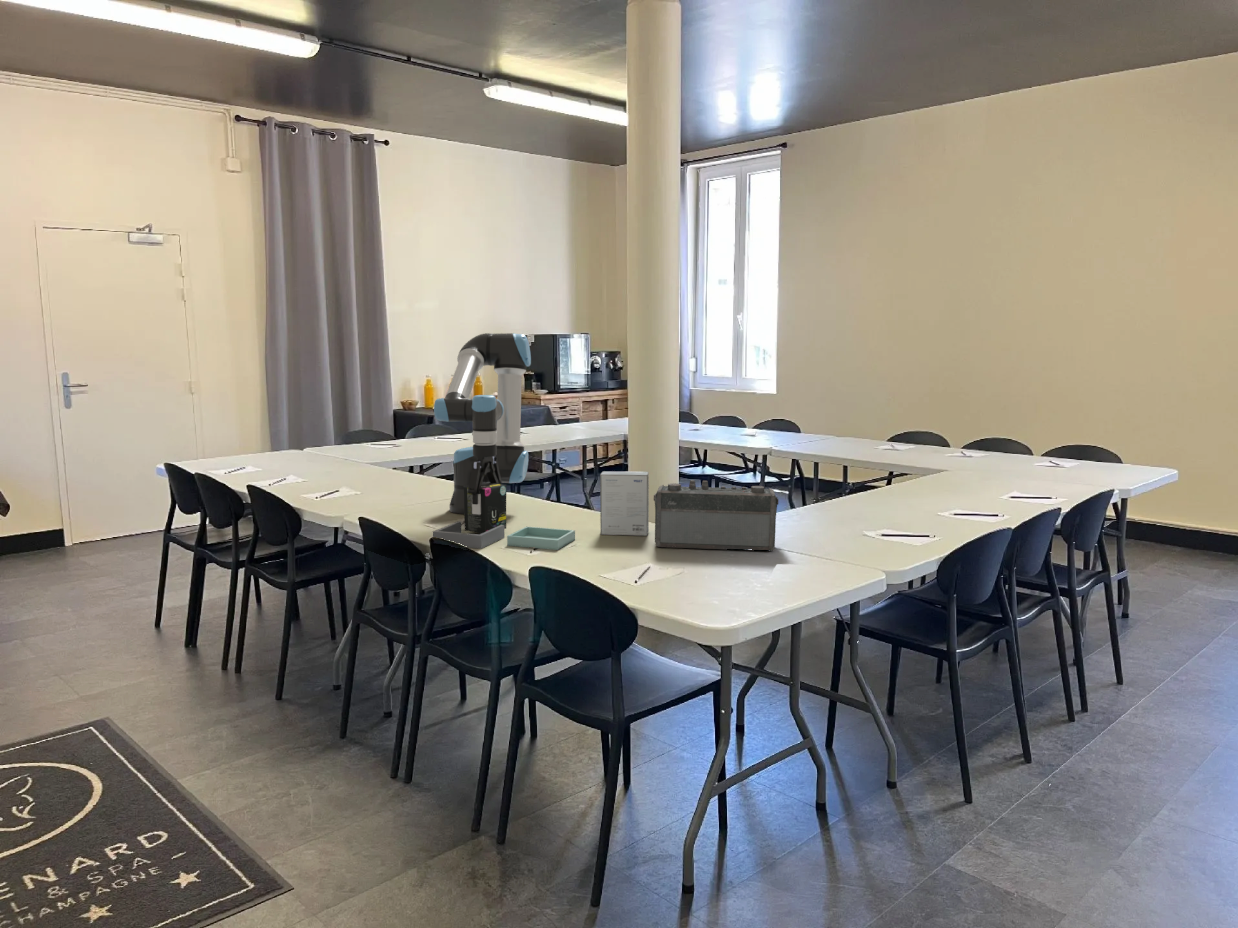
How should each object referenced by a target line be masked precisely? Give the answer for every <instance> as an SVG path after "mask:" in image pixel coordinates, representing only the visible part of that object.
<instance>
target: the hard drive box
mask: <svg viewBox="0 0 1238 928" xmlns="http://www.w3.org/2000/svg"><path fill="white" fill-rule="evenodd" d="M649 474H650V473H649V471H628V470H627V471H615V470H614V471H613V470H612V471H605V470H604V471H602V472H601V473H600V475H599V481H600V482H599V484H600V486H599V490H600V492H599V494H600V495H599V496H600V500H599V502H600V505H599V506H600V507H599V508H600V511H599V513H600V515H599V516H600V519H599V520H600V533H599V534H600V536H601V535H603V536H604V535H605V536H606V535H608V536H645V537H646V536H648V535H649V530H650V529H649V525H650V524H649V521H650V520H649V515H650V514H649V511H650V510H649V505H650V502H649V493H650V491H649V489H650V488H649V487H650V484H649V483H650V482H649Z"/></svg>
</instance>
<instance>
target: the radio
mask: <svg viewBox="0 0 1238 928" xmlns="http://www.w3.org/2000/svg"><path fill="white" fill-rule="evenodd" d="M653 501H654V512H655V514H654V515H655V516H654V517H655V519H654V523H655V524H654V543H655V545H656V547H659V548H675V549H676V548H678V549H701V550H702V549H703V550H704V549H705V550H706V549H707V550H727V549H752V550H751V551H754V550H772V551H773V550H774V549H775V547H776V543H775V542H776V527H777V526H776V525H777V523H776V522H777V521H776V520H777V511H778V506H779V502H780V501H779V498H778V496H776V493H775V491H774V489H773V488H770V487H768V488H765V486H762V485H752V486H750V488H747V487H746V486H742V487H736V486H731V487H726V486H725V485H724V486H720V487H715V486H714V487H709V482H708V480H702V482H701V486H696V480H689V485H688V486H682V483H674V482H673V483H668V484H667V485H664V484H662V485H660V486H658V489H657V490H656V492H655V493H654V494H653Z"/></svg>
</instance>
